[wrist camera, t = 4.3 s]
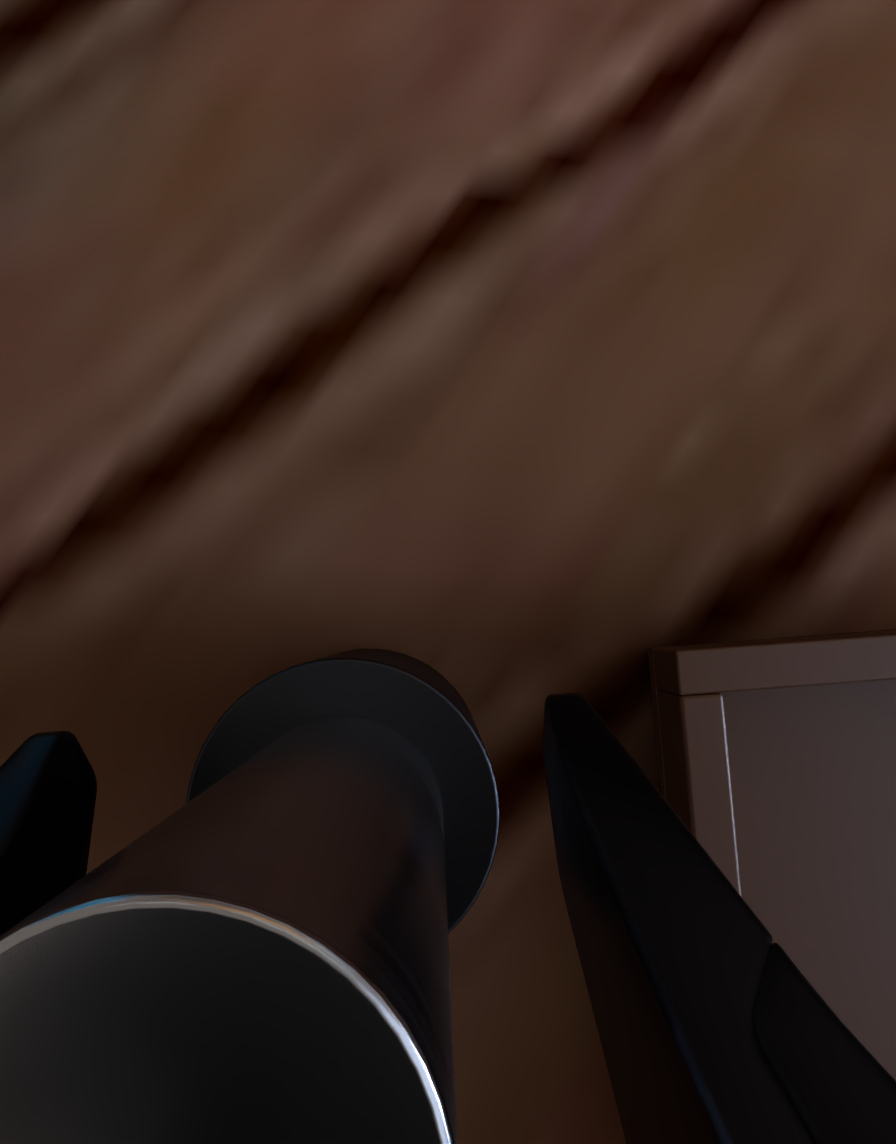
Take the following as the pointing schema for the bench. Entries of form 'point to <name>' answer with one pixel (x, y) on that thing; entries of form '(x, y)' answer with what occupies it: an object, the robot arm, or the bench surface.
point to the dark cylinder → (267, 932)
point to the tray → (796, 800)
